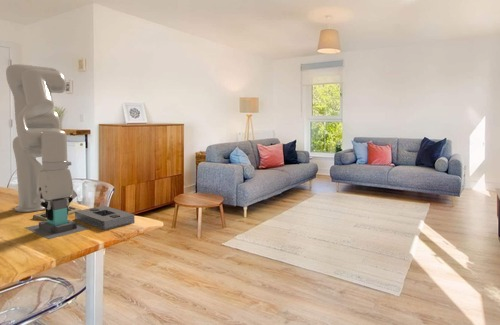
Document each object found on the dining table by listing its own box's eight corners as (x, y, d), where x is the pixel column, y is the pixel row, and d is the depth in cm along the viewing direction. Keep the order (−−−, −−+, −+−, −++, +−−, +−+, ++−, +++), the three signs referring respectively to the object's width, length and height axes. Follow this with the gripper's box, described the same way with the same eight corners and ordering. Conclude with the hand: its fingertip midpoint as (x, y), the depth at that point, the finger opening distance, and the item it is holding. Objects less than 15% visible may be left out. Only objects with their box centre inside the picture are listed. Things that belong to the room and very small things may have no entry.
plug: (47, 226, 118) (46, 198, 117) (59, 223, 121) (58, 196, 120) (55, 230, 114) (54, 201, 113) (67, 227, 118) (66, 199, 116)
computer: (48, 225, 125) (47, 216, 125) (32, 222, 128) (31, 213, 127) (82, 214, 140) (81, 206, 139) (67, 212, 143) (67, 204, 142)
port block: (75, 221, 128) (74, 211, 128) (104, 215, 138) (104, 205, 138) (104, 232, 117) (104, 221, 116) (134, 224, 127) (134, 213, 126)
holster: (24, 230, 117) (24, 222, 117) (65, 221, 129) (65, 213, 128) (48, 242, 107) (48, 233, 106) (91, 231, 118) (91, 222, 118)
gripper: (74, 163, 124) (75, 211, 126) (22, 167, 110) (25, 221, 113) (84, 165, 120) (86, 215, 122) (32, 170, 106) (35, 226, 108)
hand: (57, 217), depth 117 cm, fingers closed on plug, 4 cm apart
